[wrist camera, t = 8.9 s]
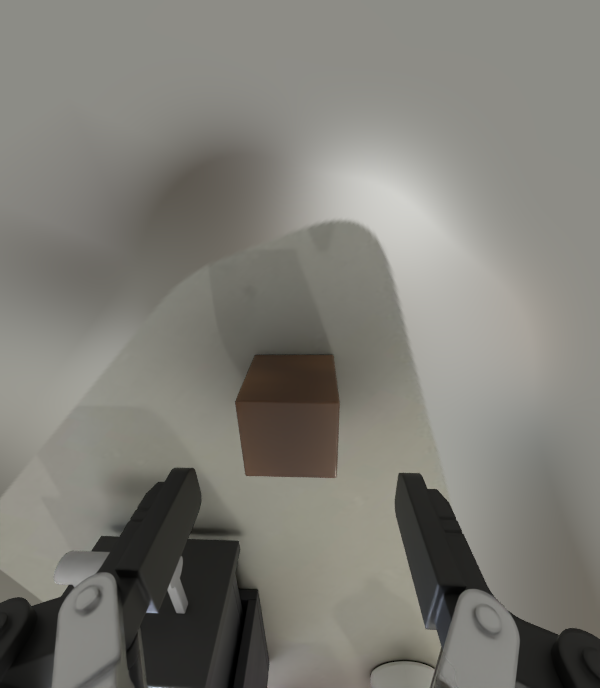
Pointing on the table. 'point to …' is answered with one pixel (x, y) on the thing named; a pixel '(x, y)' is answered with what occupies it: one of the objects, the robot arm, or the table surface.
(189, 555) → the drawer
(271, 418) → the block
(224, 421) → the table surface
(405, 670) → the mug
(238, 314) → the table surface
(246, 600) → the cabinet
